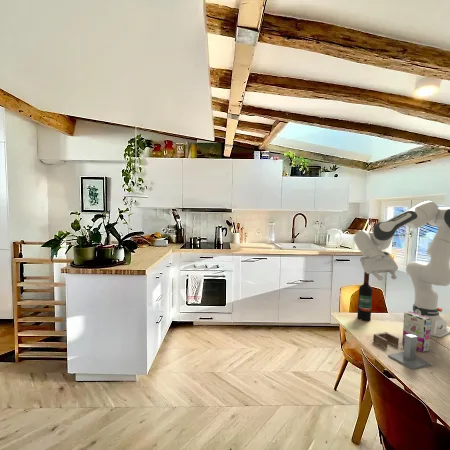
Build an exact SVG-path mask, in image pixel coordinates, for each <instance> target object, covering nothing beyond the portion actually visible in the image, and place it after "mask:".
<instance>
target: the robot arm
mask: <svg viewBox="0 0 450 450" xmlns="http://www.w3.org/2000/svg"><path fill="white" fill-rule="evenodd" d="M425 225H427V226H429V227H437V232H436V233H435V235H434V237H433V238H432V240H431V242H430V244H429V245H428V246H429V247H428V248H427V249H426V250H427V251H426V252H427V254H428V256H429V258H430V261H429V262H425V261H418V260H413V261H410V262H409V263H407V265H406V268H405V272H406V275H408V277H409V278H410V281H411V283H412V286H413V289H414V301H413V304H412V312H413V313H416V314H419V315H422V316H425V317H428V318H431V319H432V321H431V333H430V337H436V338H442V337H444V336H446V335H449V334H450V328H448V327H447V320H446V319H445V318H443V317H442V316H441V315H440V313H442V312H443V308H441V307H438V305H439V304H438V303H439V295H438V292H437V291H436V290H435V289H434V286H436V287H437V286H439V287H447V286H449V285H450V207H448V206H447V207H446V206H444V207H443V206H442V207H439V206H438V204H436V202H434V201H430V200H427V201H424V202H421V203H419V204H416V205H415V206H413V207H411V208H410V209H408V210H406V211H403V212H401V213H399V214H397V215H395V216H394V217H392V218H389V219H386V220H381V221H379V222H377V223H375V224H374V226H373V228H372V229H373V231H367V230H364V229H361V230H359V231H357V232H356V233H355V235H354V237H353V240H354V242H355V243H354V244H355V245H356V247H357V248H358V250H359V251H360V252H361V254H362V257H360V258H359V261H360V264H361V266H362V268H363V271H364V272H366V273H367V274H369V275H370V274H372V275H373V276H374V277H375V278H376V279H377V280H378V281H383V280H384V278H383V276H382V275H380V274H383V273H384V274H385V273H387V274H390V275H391V276H390V278H391V279H392V280H397V278H398V277H397V276H396V271H397V270H398V269H399V267H398V264H397V263H396V261H395V260H394V258H392V257H391V254H390V253H389V252H388V251H384V250H386V249H389V247H390V245H391V243H392V240H393V237H394V235H395V233H396V232H397V230H399V229H401V228H403V227H404V226H407V227H408V228H410V229H415V230H416V229H419V228H421V227H423V226H425Z"/></svg>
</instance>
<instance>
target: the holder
mask: <svg viewBox="0 0 450 450" xmlns="http://www.w3.org/2000/svg"><path fill="white" fill-rule="evenodd" d="M399 340H400V338H399V337H397V336H395V335H394V334H391V333H390V332H387V331H384V332H379V333H374V334H373V339H372V342H373V341H374V342H373V343H375V342H376V343H378V344H379V346H380V345H381V346H380V347H382V346H383V347H382V348H384V347H385V348H384V349H388V343H389V342H390V343H389V344H391V343H392V345H393V344H394V346H395V347H398V346H399V342H400V341H399ZM376 343H375V344H376ZM378 344H377V345H378Z"/></svg>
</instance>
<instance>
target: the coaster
mask: <svg viewBox="0 0 450 450" xmlns="http://www.w3.org/2000/svg"><path fill="white" fill-rule="evenodd" d="M387 355H388V356H387V357H389V356H390V357H391V359H392V358H393V359H392V360H394V361H396V362H397V361H398V362H397V363H400V365H403V366H404V367H407V368H409V369H411V370H417V369H418V370H419V369H421V368H425V367H426V368H427V367H429V366H432V363H431V362H429V361H427V360H426V359H423V358H421V357H419V356H417V355H416V360H413V361H408V360H406V359H404V358H403V356H404V351H400V352H395V353H391V354H387ZM390 357H389V358H390Z"/></svg>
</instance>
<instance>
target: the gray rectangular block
mask: <svg viewBox="0 0 450 450" xmlns="http://www.w3.org/2000/svg"><path fill="white" fill-rule="evenodd" d="M403 345H404V346H403V352H404V356H403V358H404V359H406V360H408V361H413V360H416V356H417V336H415V335H413V334H407V335H405V342H404V343H403Z"/></svg>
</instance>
